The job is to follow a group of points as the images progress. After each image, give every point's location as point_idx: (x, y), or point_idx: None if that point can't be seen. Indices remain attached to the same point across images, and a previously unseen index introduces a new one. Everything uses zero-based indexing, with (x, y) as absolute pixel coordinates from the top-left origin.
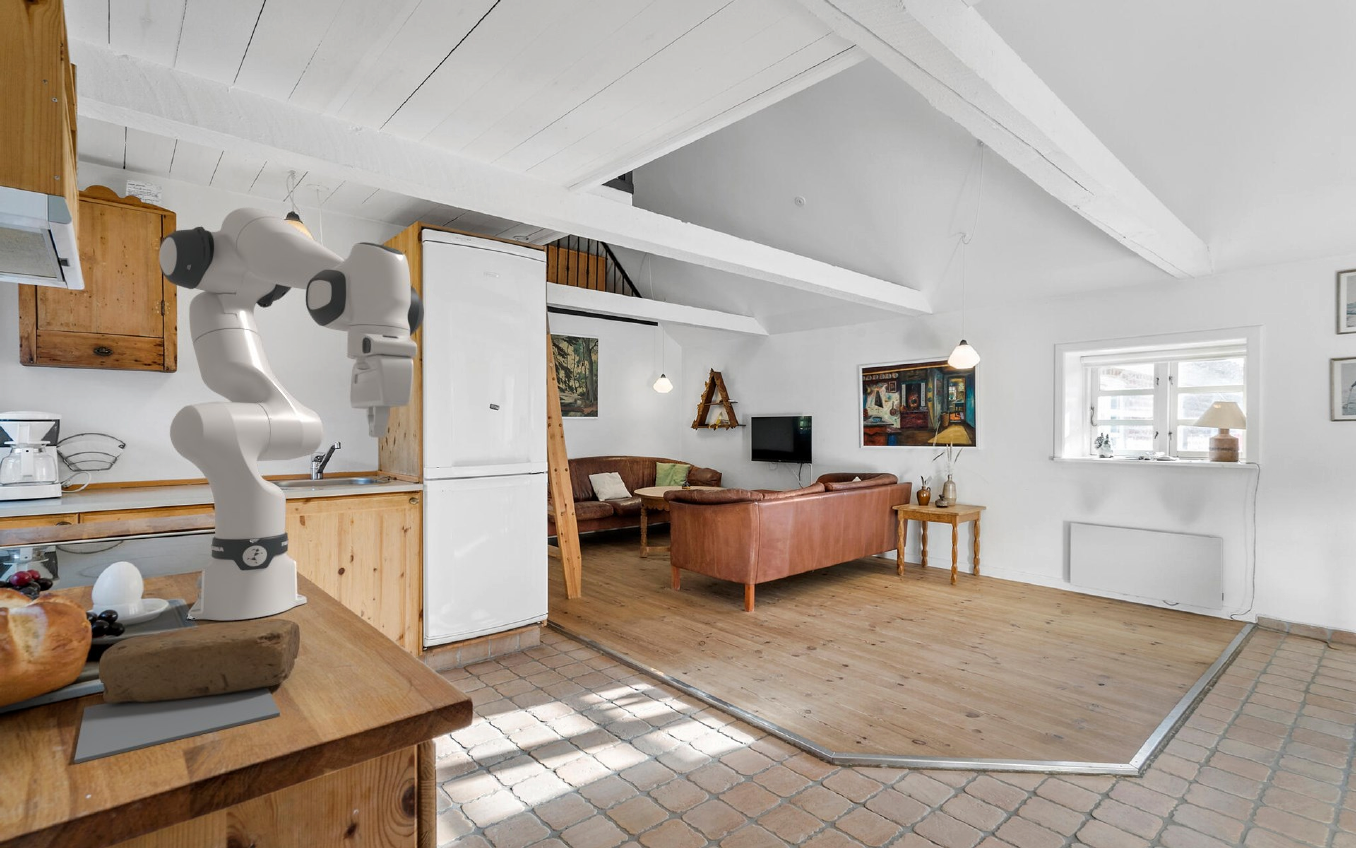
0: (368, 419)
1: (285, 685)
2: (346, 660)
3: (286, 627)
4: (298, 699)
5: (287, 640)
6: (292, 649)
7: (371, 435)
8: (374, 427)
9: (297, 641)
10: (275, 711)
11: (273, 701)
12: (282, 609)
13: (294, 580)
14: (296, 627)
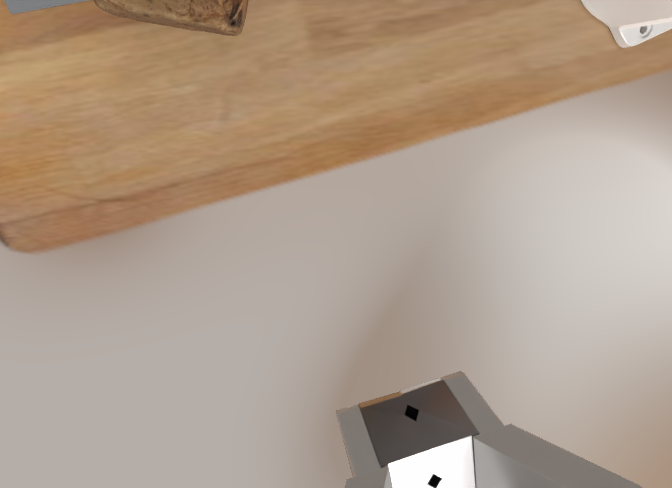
0: (543, 467)
1: None
2: (252, 113)
3: (124, 3)
4: (84, 41)
5: (112, 9)
6: (164, 23)
7: (411, 389)
8: (350, 464)
9: (209, 31)
10: (16, 6)
11: (66, 1)
12: (587, 2)
13: (657, 18)
14: (196, 25)
